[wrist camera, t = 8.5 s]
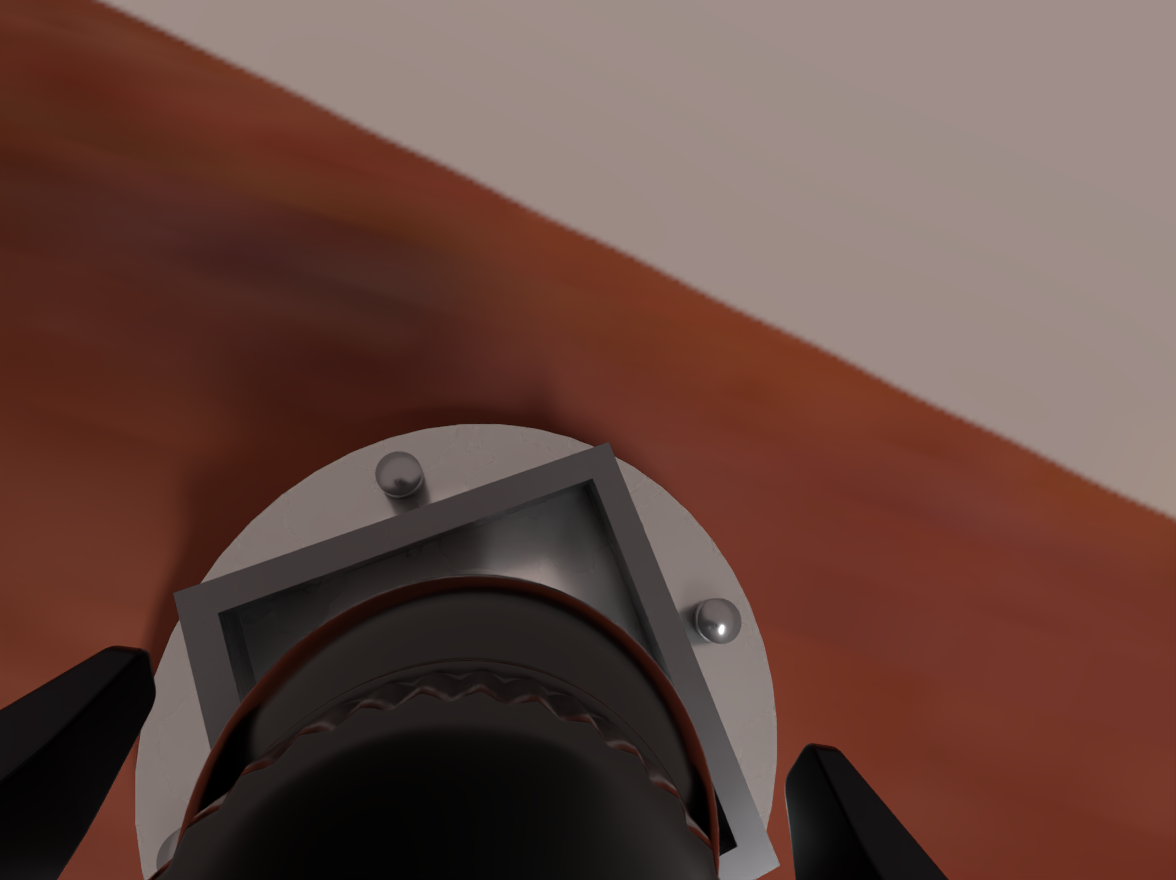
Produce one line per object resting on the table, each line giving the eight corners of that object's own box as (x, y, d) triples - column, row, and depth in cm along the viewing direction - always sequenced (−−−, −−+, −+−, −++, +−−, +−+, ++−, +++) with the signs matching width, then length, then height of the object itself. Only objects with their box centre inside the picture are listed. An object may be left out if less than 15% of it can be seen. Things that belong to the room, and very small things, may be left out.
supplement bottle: (317, 624, 16) (-154, 670, 4) (573, 557, 17) (736, 457, 6) (364, 922, 14) (-165, 2234, 3) (640, 821, 16) (1047, 1414, 4)
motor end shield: (256, 1218, 14) (202, 1359, 11) (108, 544, 17) (38, 532, 14) (844, 875, 17) (905, 921, 15) (632, 375, 21) (653, 341, 18)
